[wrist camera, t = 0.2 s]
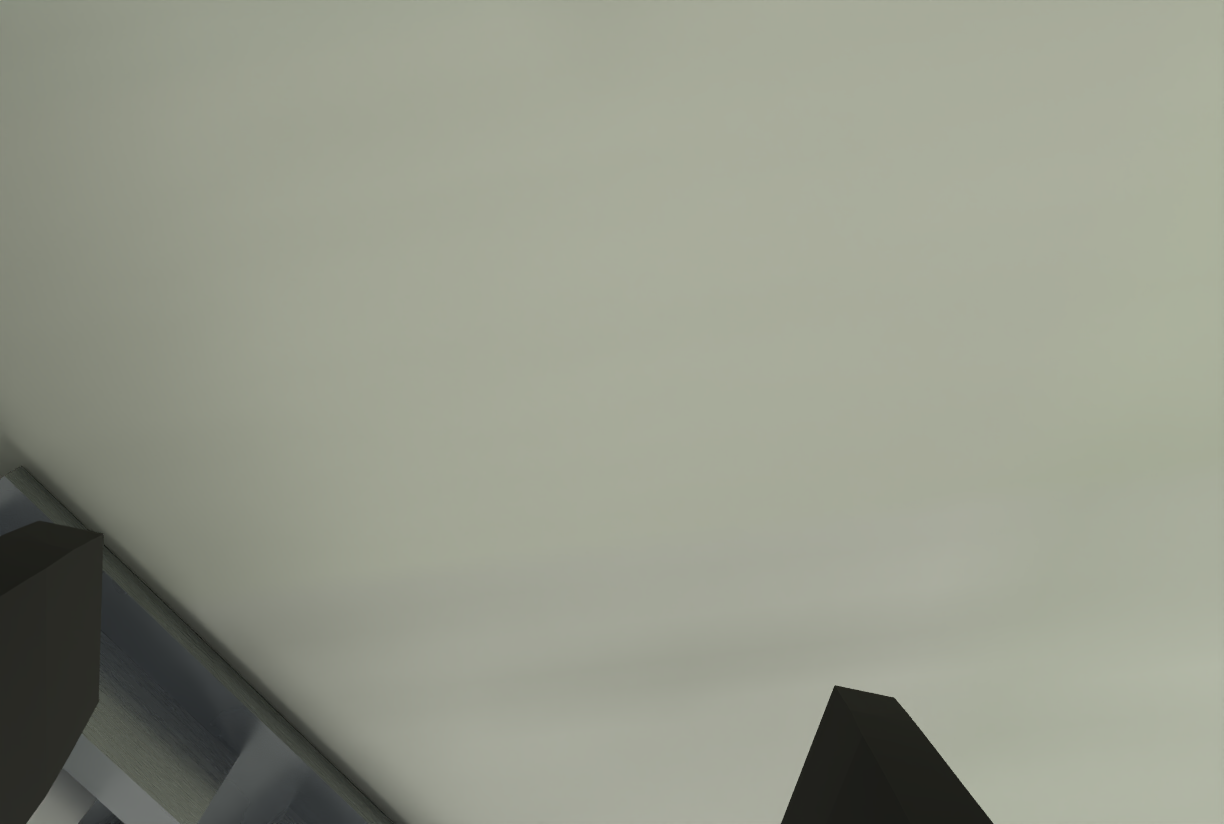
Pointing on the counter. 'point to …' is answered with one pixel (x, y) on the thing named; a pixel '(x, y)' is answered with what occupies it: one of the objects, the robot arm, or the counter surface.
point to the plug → (63, 802)
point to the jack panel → (182, 717)
